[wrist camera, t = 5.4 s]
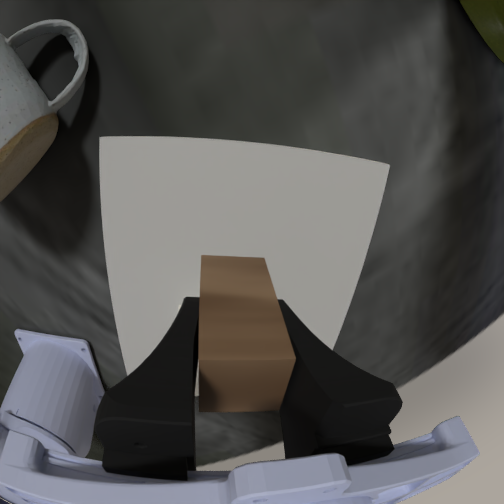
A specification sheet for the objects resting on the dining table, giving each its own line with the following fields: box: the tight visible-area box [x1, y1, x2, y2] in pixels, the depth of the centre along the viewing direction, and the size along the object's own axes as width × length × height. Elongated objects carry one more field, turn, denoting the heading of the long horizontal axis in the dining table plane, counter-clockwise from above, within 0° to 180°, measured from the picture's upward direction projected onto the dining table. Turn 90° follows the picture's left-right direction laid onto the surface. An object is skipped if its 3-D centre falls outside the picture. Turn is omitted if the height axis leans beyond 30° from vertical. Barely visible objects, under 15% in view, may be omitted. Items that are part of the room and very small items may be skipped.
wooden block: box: [199, 255, 296, 412], centre depth 13 cm, size 3×3×6 cm
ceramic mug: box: [0, 19, 89, 202], centre depth 10 cm, size 11×8×8 cm
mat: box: [100, 136, 390, 376], centre depth 22 cm, size 22×18×1 cm
